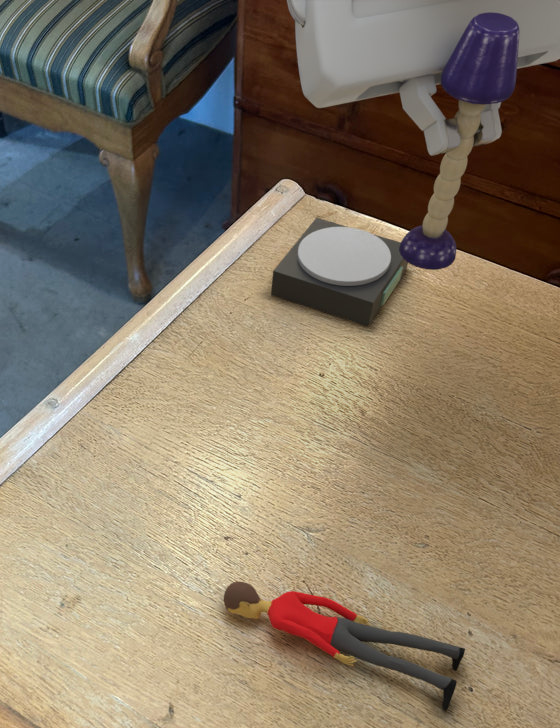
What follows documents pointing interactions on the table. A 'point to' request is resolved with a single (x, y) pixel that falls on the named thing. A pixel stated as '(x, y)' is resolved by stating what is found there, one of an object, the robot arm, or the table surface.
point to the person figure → (342, 632)
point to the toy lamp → (465, 125)
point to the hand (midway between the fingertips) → (466, 146)
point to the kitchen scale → (340, 271)
